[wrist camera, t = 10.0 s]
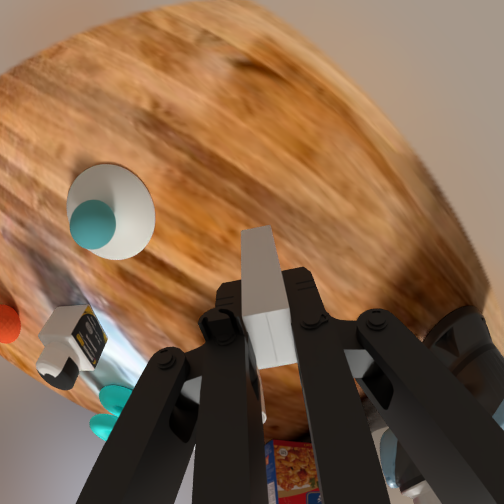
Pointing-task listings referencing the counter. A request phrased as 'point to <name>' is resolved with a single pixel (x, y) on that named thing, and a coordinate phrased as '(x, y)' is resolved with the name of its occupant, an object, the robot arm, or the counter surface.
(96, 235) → the ball
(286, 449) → the pasta box
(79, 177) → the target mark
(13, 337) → the clementine
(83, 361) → the medicine bottle
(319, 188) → the counter surface
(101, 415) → the donuts
